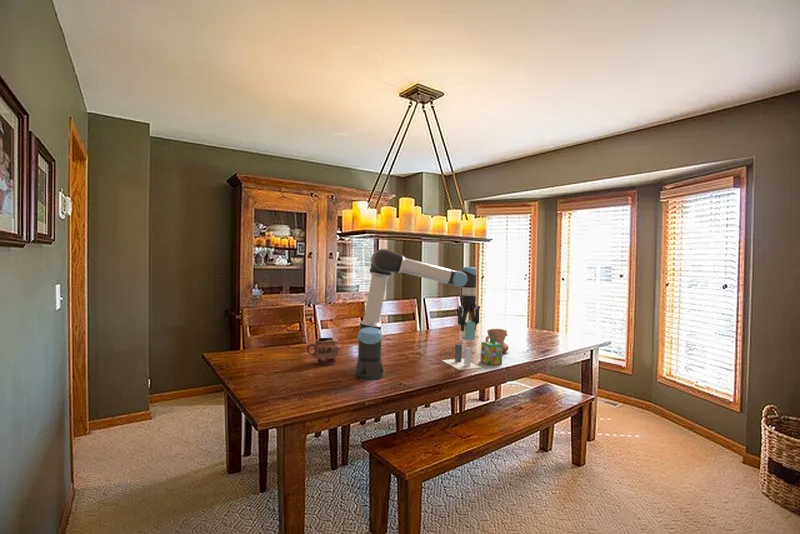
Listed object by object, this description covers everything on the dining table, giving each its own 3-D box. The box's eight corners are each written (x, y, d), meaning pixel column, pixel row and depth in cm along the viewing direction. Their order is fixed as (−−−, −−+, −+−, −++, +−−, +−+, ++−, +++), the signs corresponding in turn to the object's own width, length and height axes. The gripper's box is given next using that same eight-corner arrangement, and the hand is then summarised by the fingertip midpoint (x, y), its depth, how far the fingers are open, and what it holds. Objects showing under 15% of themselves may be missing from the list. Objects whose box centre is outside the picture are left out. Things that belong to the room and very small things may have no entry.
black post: (457, 362, 237) (457, 344, 237) (455, 360, 239) (455, 343, 239) (461, 361, 238) (461, 344, 238) (458, 360, 240) (459, 343, 240)
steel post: (466, 366, 228) (467, 348, 228) (464, 365, 230) (464, 347, 230) (470, 366, 229) (471, 348, 229) (468, 365, 231) (468, 347, 231)
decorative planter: (309, 368, 219) (309, 342, 219) (303, 362, 230) (303, 338, 229) (344, 364, 229) (345, 339, 228) (337, 359, 239) (337, 335, 239)
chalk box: (480, 361, 242) (480, 336, 241) (493, 360, 245) (493, 335, 245) (489, 365, 233) (490, 339, 233) (502, 364, 237) (503, 338, 236)
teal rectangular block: (466, 340, 226) (466, 322, 225) (461, 338, 230) (462, 321, 230) (474, 339, 228) (475, 322, 227) (469, 337, 232) (470, 320, 232)
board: (459, 370, 222) (459, 369, 222) (441, 361, 240) (441, 360, 240) (481, 368, 227) (481, 367, 227) (462, 359, 246) (462, 358, 246)
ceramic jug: (499, 348, 277) (499, 327, 277) (514, 352, 265) (514, 330, 264) (478, 351, 269) (478, 329, 268) (493, 356, 256) (493, 333, 256)
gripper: (458, 296, 221) (457, 339, 222) (486, 295, 228) (485, 336, 229) (451, 294, 228) (450, 336, 229) (479, 293, 235) (478, 334, 236)
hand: (468, 336), depth 229 cm, fingers closed on teal rectangular block, 5 cm apart
